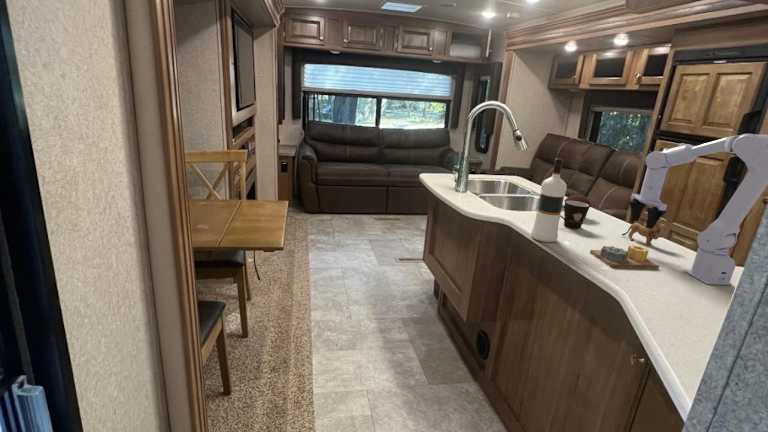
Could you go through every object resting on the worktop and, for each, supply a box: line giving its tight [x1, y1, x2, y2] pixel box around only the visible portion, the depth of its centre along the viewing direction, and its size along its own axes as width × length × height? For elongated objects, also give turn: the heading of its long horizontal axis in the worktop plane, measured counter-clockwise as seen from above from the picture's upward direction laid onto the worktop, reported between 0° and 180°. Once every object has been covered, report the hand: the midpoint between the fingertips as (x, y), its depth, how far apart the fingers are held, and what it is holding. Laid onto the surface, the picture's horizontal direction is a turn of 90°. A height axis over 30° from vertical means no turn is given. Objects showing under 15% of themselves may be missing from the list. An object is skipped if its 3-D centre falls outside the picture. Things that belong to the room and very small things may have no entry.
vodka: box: [530, 157, 567, 244], centre depth 146 cm, size 9×9×30 cm
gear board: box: [589, 245, 660, 270], centre depth 133 cm, size 12×16×4 cm
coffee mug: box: [560, 201, 589, 230], centre depth 167 cm, size 12×9×10 cm
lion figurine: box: [621, 222, 668, 247], centre depth 153 cm, size 15×5×9 cm, turn 34°
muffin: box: [563, 193, 592, 220], centre depth 182 cm, size 12×11×10 cm
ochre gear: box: [626, 244, 650, 262], centre depth 134 cm, size 6×6×4 cm
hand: (641, 224), depth 142 cm, fingers open, 7 cm apart
